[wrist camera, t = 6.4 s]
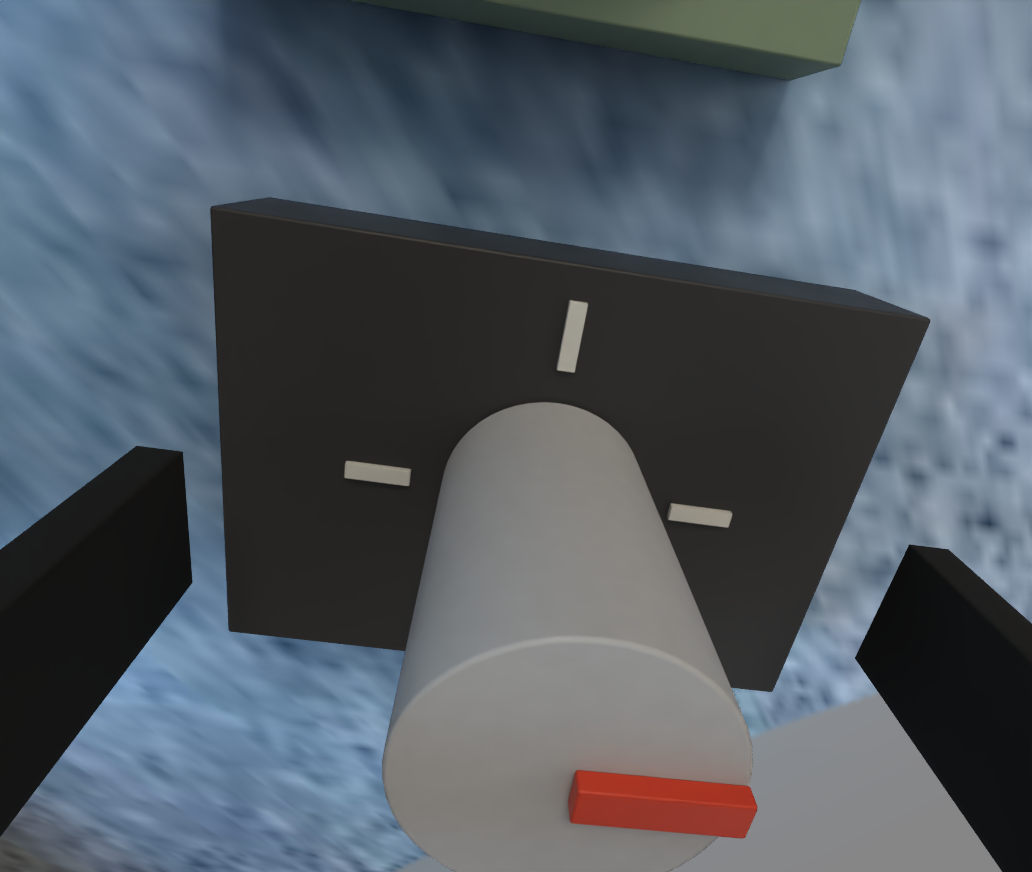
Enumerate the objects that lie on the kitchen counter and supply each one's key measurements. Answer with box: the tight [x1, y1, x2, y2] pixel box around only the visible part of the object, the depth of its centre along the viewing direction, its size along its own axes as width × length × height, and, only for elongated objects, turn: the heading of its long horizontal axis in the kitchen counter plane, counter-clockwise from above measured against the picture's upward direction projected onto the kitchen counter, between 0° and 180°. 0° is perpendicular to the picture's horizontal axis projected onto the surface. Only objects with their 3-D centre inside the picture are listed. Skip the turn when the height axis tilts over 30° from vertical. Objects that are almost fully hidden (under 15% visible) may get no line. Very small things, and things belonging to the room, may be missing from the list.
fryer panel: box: [211, 197, 930, 692], centre depth 15 cm, size 14×10×3 cm
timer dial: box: [382, 402, 757, 872], centre depth 10 cm, size 4×4×7 cm
